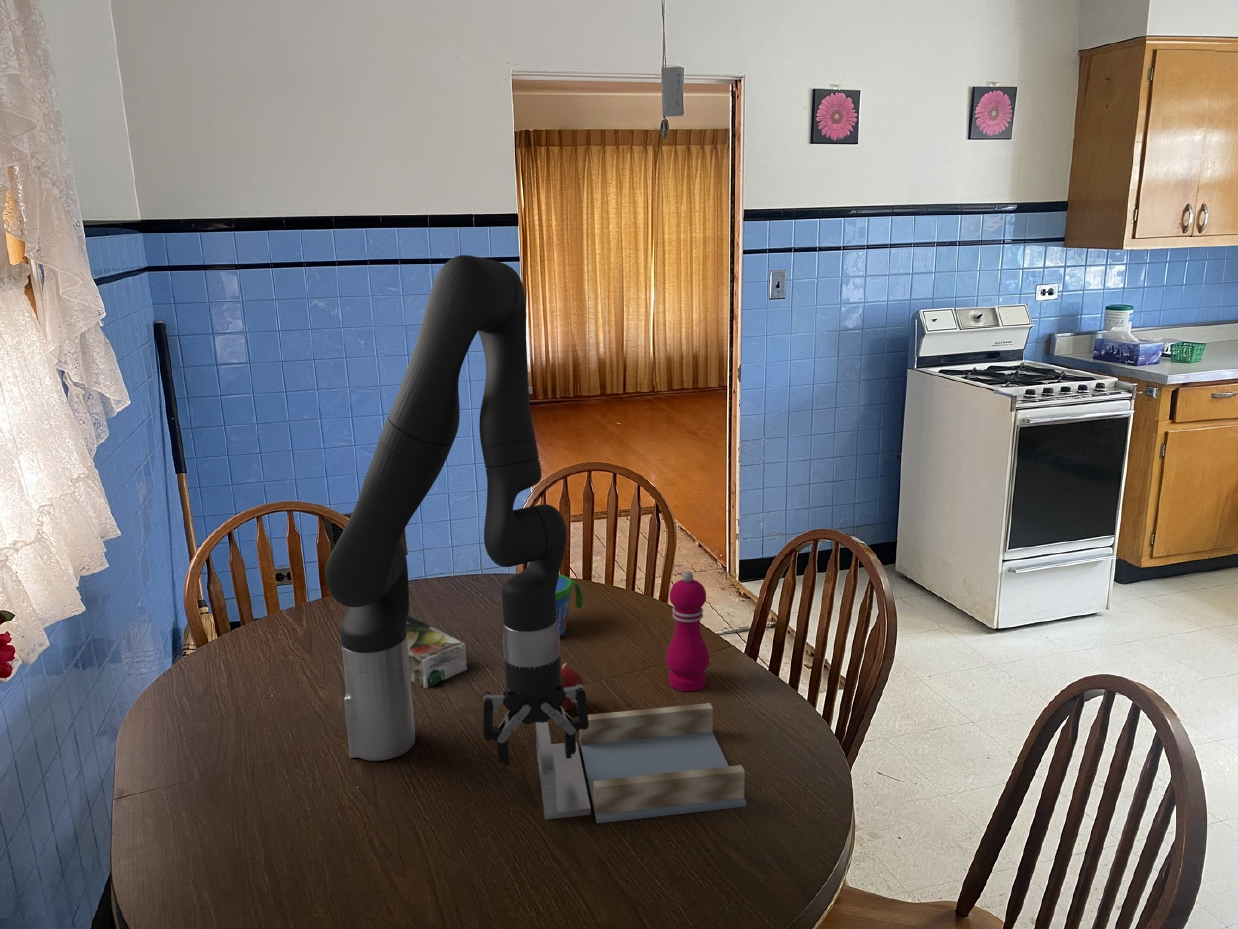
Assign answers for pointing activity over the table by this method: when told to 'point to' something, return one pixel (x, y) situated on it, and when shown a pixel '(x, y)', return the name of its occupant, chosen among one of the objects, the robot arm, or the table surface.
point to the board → (655, 768)
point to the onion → (569, 683)
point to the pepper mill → (687, 636)
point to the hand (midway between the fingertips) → (537, 759)
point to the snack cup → (565, 600)
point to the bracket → (560, 778)
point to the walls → (666, 785)
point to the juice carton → (432, 654)
